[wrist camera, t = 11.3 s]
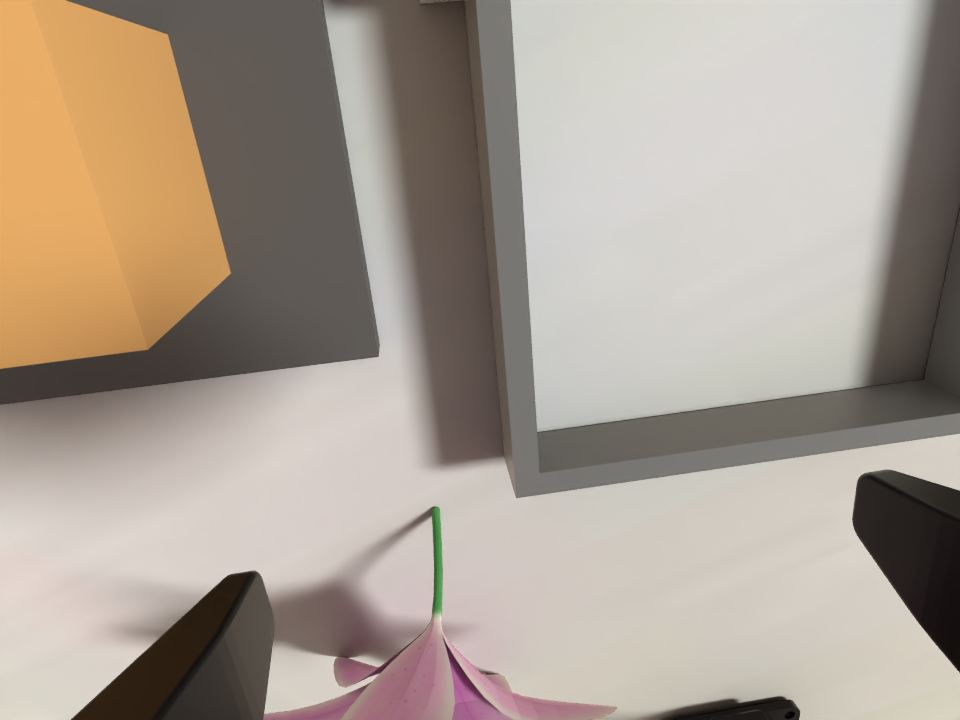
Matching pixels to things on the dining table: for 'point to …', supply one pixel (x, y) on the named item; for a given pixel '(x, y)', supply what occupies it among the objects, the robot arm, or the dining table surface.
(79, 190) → the block
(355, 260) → the rubber mat
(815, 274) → the dining table surface
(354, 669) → the lily
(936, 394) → the case
